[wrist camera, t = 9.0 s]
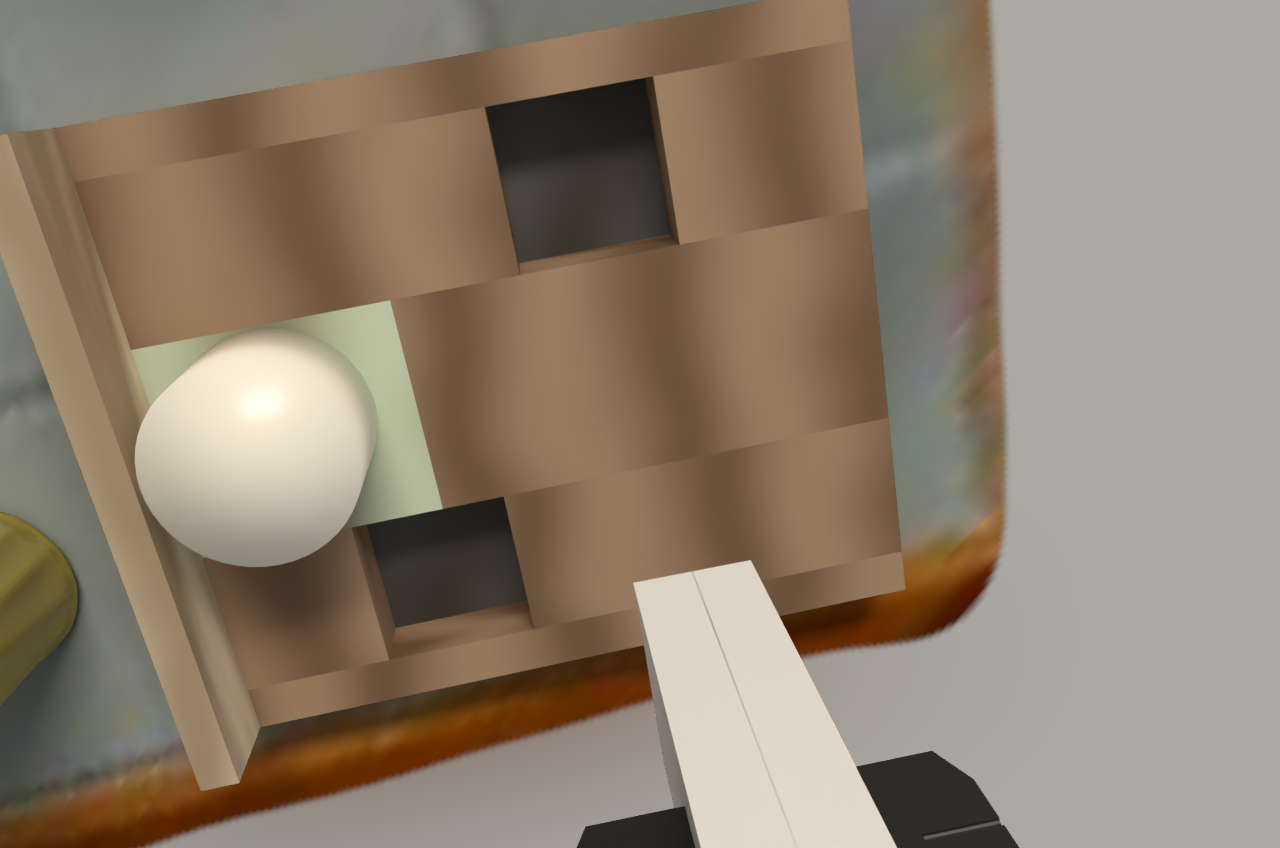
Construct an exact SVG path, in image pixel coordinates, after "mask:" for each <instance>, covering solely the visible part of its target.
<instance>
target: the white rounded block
mask: <svg viewBox="0 0 1280 848" xmlns="http://www.w3.org/2000/svg"><path fill="white" fill-rule="evenodd" d="M377 434H378V416H377V411H376V405H375V402H374V399H373V396H372V393H371V391H370V389H369V387H368V385H367V383H366V381H365V379H364V378H363V376H362V375H361V373H360V372H359V370H358V369H357V368H356V367H355V366H354V365H353V363H352V362H351V361H350V360H349V359H348V358H346V357H345V356H344V355H343V354H342V353H341V352H339V351H338V350H337V349H335V348H334V347H332V346H331V345H329V344H327V343H326V342H324V341H322V340H320V339H318V338H316V337H313V336H311V335H308V334H305V333H301V332H297V331H294V330H287V329H279V328H264V329H256V330H250V331H246V332H242V333H238V334H236V335H233V336H231V337H228V338H226V339H224V340H223V341H221V342H219V343H217V344H216V345H214V346H213V347H212V348H210V349H209V350H208V351H206V352H205V353H204V354H203V355H202V356H201V357H200V358H199V359H198V360H197V361H196V362H195V363H194V364H193V365H191V366H190V367H189V368H188V369H187V370H186V371H185V372H184V373H183V374H182V375H181V376H180V377H179V378H178V379H177V380H176V381H174V382H173V383H172V384H171V385H170V386H169V387H168V388H167V389H166V390H165V391H164V392H163V393H162V394H161V395H160V396H159V397H158V398H157V399H156V400H155V402H154V403H153V405H152V406H151V407H150V409H149V410H148V412H147V414H146V416H145V418H144V419H143V421H142V424H141V427H140V430H139V432H138V435H137V441H136V447H135V469H136V476H137V480H138V484H139V488H140V490H141V493H142V495H143V498H144V500H145V502H146V504H147V506H148V507H149V509H150V511H151V512H152V514H153V515H154V517H155V518H156V519H157V520H158V522H159V523H160V524H161V526H162V527H164V528H165V529H166V530H167V531H168V532H169V533H170V534H171V535H172V536H173V537H174V538H175V539H177V540H178V541H179V542H180V543H182V544H183V545H185V546H186V547H188V548H190V549H191V550H193V551H195V552H196V553H199V554H201V555H203V556H205V557H207V558H210V559H213V560H216V561H219V562H222V563H226V564H231V565H236V566H245V567H268V566H275V565H281V564H285V563H289V562H293V561H295V560H298V559H300V558H303V557H305V556H307V555H309V554H311V553H313V552H315V551H317V550H318V549H320V548H321V547H322V546H324V545H325V544H327V543H328V542H329V541H330V540H331V539H332V538H333V537H334V536H335V535H336V534H338V532H339V531H340V530H341V529H342V527H343V526H344V525H345V524H346V522H347V521H348V519H349V517H350V516H351V514H352V512H353V510H354V508H355V505H356V503H357V500H358V497H359V494H360V492H361V489H362V486H363V483H364V480H365V477H366V474H367V471H368V468H369V465H370V462H371V459H372V456H373V453H374V450H375V446H376V442H377Z"/></svg>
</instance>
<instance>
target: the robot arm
mask: <svg viewBox="0 0 1280 848" xmlns="http://www.w3.org/2000/svg"><path fill="white" fill-rule="evenodd" d="M633 585H634V590H635V596H636V602H637V608H638V614H639V620H640V626H641V631H642V637H643V643H644V649H645V655H646V661H647V666H648V672H649V678H650V684H651V690H652V696H653V702H654V707H655V713H656V719H657V725H658V731H659V737H660V743H661V747H662V754H663V760H664V765H665V770H666V774H667V778H668V783H669V787H670V791H671V795H672V800H673V803H674V808H673V809H669V810H664V811H659V812H654V813H649V814H645V815H639V816H635V817H630V818H625V819H621V820H616V821H611V822H606V823H601V824H597V825H592V826H587V827H585V830H584V832H583V834H582V837H581V839H580V842H579V844H578V846H577V848H1019V847H1018V845H1017V844H1016V842H1015V841H1014V839H1013V838H1012V836H1011V835H1010V833H1009V832H1008V830H1007V829H1006V827H1005V826H1004V825H1003V826H1002V825H1001V823H1000V821H999V817H998V815H997V814H996V812H995V811H994V809H993V808H992V806H991V805H990V803H989V802H988V800H987V799H986V797H985V796H984V794H983V793H982V791H981V790H980V788H979V787H978V785H977V784H976V782H975V781H974V779H972V778H971V777H969V776H968V775H966V774H965V773H964V772H962V771H961V770H959V769H958V768H956V767H955V766H953V765H952V764H950V763H949V762H947V761H946V760H945V759H943V758H942V757H940V756H939V755H937V754H936V753H934V752H933V751H929V752H924V753H920V754H915V755H910V756H905V757H900V758H896V759H891V760H886V761H881V762H877V763H872V764H867V765H862V766H857V767H856V766H855V764H854V762H853V760H852V758H851V756H850V754H849V752H848V750H847V748H846V746H845V745H844V742H843V741H842V739H841V737H840V735H839V733H838V731H837V729H836V727H835V725H834V723H833V721H832V719H831V717H830V715H829V713H828V711H827V709H826V707H825V705H824V703H823V701H822V699H821V697H820V696H819V693H818V691H817V690H816V688H815V685H814V684H813V682H812V680H811V678H810V676H809V674H808V672H807V670H806V668H805V666H804V664H803V662H802V660H801V658H800V656H799V654H798V652H797V650H796V648H795V646H794V644H793V642H792V640H791V638H790V636H789V634H788V632H787V630H786V629H785V627H784V625H783V623H782V621H781V619H780V617H779V615H778V613H777V611H776V609H775V607H774V605H773V603H772V601H771V599H770V597H769V595H768V593H767V591H766V589H765V587H764V585H763V583H762V581H761V579H760V577H759V575H758V573H757V572H756V570H755V568H754V566H753V564H752V562H751V560H748V561H743V562H738V563H733V564H728V565H723V566H717V567H712V568H707V569H702V570H697V571H692V572H687V573H681V574H676V575H671V576H666V577H661V578H656V579H650V580H645V581H640V582H635V583H633Z"/></svg>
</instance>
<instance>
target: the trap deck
mask: <svg viewBox="0 0 1280 848" xmlns="http://www.w3.org/2000/svg"><path fill="white" fill-rule="evenodd" d="M0 254H1V257H2V260H3V262H4V265H5V268H6V271H7V273H8V276H9V279H10V281H11V284H12V287H13V289H14V292H15V295H16V297H17V300H18V303H19V305H20V308H21V311H22V313H23V316H24V319H25V321H26V324H27V327H28V329H29V332H30V335H31V337H32V340H33V343H34V345H35V348H36V351H37V354H38V356H39V359H40V362H41V364H42V367H43V370H44V372H45V375H46V378H47V380H48V383H49V386H50V388H51V391H52V394H53V396H54V399H55V402H56V404H57V407H58V410H59V412H60V415H61V418H62V420H63V423H64V426H65V428H66V431H67V434H68V437H69V439H70V442H71V445H72V447H73V450H74V453H75V455H76V458H77V461H78V463H79V466H80V469H81V471H82V474H83V477H84V479H85V482H86V485H87V487H88V490H89V493H90V495H91V498H92V501H93V503H94V506H95V509H96V512H97V514H98V517H99V520H100V522H101V525H102V528H103V530H104V533H105V536H106V538H107V541H108V544H109V546H110V549H111V552H112V554H113V557H114V560H115V562H116V565H117V568H118V570H119V573H120V576H121V578H122V581H123V584H124V586H125V589H126V592H127V595H128V597H129V600H130V603H131V605H132V608H133V611H134V613H135V616H136V619H137V621H138V624H139V627H140V629H141V632H142V635H143V637H144V640H145V643H146V645H147V648H148V651H149V653H150V656H151V659H152V661H153V664H154V667H155V670H156V672H157V675H158V678H159V680H160V683H161V686H162V688H163V691H164V694H165V696H166V699H167V702H168V704H169V707H170V710H171V712H172V715H173V718H174V720H175V723H176V726H177V728H178V731H179V734H180V736H181V739H182V742H183V744H184V747H185V750H186V753H187V755H188V758H189V761H190V763H191V766H192V769H193V771H194V774H195V777H196V779H197V782H198V785H199V787H200V790H201V791H205V790H209V789H214V788H218V787H223V786H228V785H232V784H237V783H239V782H240V780H241V777H242V774H243V772H244V769H245V767H246V764H247V761H248V759H249V756H250V753H251V751H252V748H253V745H254V743H255V740H256V737H257V735H258V732H259V730H260V727H264V726H269V725H274V724H278V723H283V722H288V721H292V720H297V719H302V718H306V717H311V716H316V715H321V714H325V713H330V712H335V711H339V710H344V709H349V708H353V707H358V706H363V705H367V704H372V703H377V702H381V701H386V700H391V699H395V698H400V697H405V696H409V695H414V694H419V693H423V692H428V691H433V690H437V689H442V688H447V687H451V686H456V685H461V684H465V683H470V682H475V681H479V680H484V679H489V678H493V677H498V676H503V675H507V674H512V673H517V672H521V671H526V670H531V669H535V668H540V667H545V666H549V665H554V664H559V663H563V662H568V661H573V660H577V659H582V658H587V657H591V656H596V655H601V654H605V653H610V652H615V651H619V650H624V649H629V648H633V647H638V646H643V645H644V643H643V637H642V631H641V626H640V620H639V614H638V608H637V602H636V596H635V590H634V585H633V583H635V582H640V581H645V580H650V579H656V578H661V577H666V576H671V575H676V574H681V573H687V572H692V571H697V570H702V569H707V568H712V567H717V566H723V565H728V564H733V563H738V562H743V561H748V560H751V562H752V564H753V566H754V568H755V570H756V572H757V573H758V575H759V577H760V579H761V581H762V583H763V585H764V587H765V589H766V591H767V593H768V595H769V597H770V599H771V601H772V603H773V605H774V607H775V609H776V611H777V613H778V615H779V616H783V615H788V614H792V613H797V612H802V611H806V610H811V609H816V608H820V607H825V606H830V605H834V604H839V603H844V602H848V601H853V600H858V599H862V598H867V597H872V596H876V595H881V594H886V593H890V592H895V591H900V590H904V589H905V580H904V570H903V560H902V550H901V540H900V529H899V519H898V509H897V499H896V488H895V478H894V468H893V458H892V448H891V437H890V427H889V417H888V407H887V397H886V386H885V376H884V366H883V356H882V346H881V335H880V325H879V315H878V305H877V294H876V284H875V274H874V264H873V254H872V243H871V233H870V223H869V213H868V203H867V192H866V182H865V172H864V162H863V152H862V141H861V131H860V121H859V111H858V101H857V90H856V80H855V70H854V60H853V49H852V39H851V29H850V19H849V9H848V0H765V1H760V2H754V3H749V4H743V5H738V6H732V7H726V8H721V9H715V10H710V11H704V12H699V13H693V14H687V15H682V16H676V17H671V18H665V19H660V20H654V21H649V22H643V23H637V24H632V25H626V26H621V27H615V28H610V29H604V30H598V31H593V32H587V33H582V34H576V35H571V36H565V37H559V38H554V39H548V40H543V41H537V42H532V43H526V44H520V45H515V46H509V47H504V48H498V49H493V50H487V51H481V52H476V53H470V54H465V55H459V56H454V57H448V58H443V59H437V60H431V61H426V62H420V63H415V64H409V65H404V66H398V67H392V68H387V69H381V70H376V71H370V72H365V73H359V74H353V75H348V76H342V77H337V78H331V79H326V80H320V81H314V82H309V83H303V84H298V85H292V86H287V87H281V88H275V89H270V90H264V91H259V92H253V93H248V94H242V95H237V96H231V97H225V98H220V99H214V100H209V101H203V102H198V103H192V104H186V105H181V106H175V107H170V108H164V109H159V110H153V111H147V112H142V113H136V114H131V115H125V116H120V117H114V118H108V119H103V120H97V121H92V122H86V123H81V124H75V125H69V126H64V127H58V128H52V129H43V130H35V131H26V132H18V133H10V134H3V135H0ZM264 328H279V329H287V330H294V331H297V332H301V333H305V334H308V335H311V336H313V337H316V338H318V339H320V340H322V341H324V342H326V343H327V344H329V345H331V346H332V347H334V348H335V349H337V350H338V351H339V352H341V353H342V354H343V355H344V356H345V357H346V358H348V359H349V360H350V361H351V362H352V363H353V365H354V366H355V367H356V368H357V369H358V370H359V372H360V373H361V375H362V376H363V378H364V379H365V381H366V383H367V385H368V387H369V389H370V391H371V393H372V396H373V399H374V402H375V405H376V411H377V416H378V434H377V442H376V446H375V450H374V453H373V456H372V459H371V462H370V465H369V468H368V471H367V474H366V477H365V480H364V483H363V486H362V489H361V492H360V494H359V497H358V500H357V503H356V505H355V508H354V510H353V512H352V514H351V516H350V517H349V519H348V521H347V522H346V524H345V525H344V526H343V527H342V529H341V530H340V531H339V532H338V534H336V535H335V536H334V537H333V538H332V539H331V540H330V541H329V542H328V543H327V544H325V545H324V546H322V547H321V548H320V549H318V550H317V551H315V552H313V553H311V554H309V555H307V556H305V557H303V558H300V559H298V560H295V561H293V562H289V563H285V564H281V565H275V566H268V567H245V566H236V565H231V564H226V563H222V562H219V561H216V560H213V559H210V558H207V557H205V556H203V555H201V554H199V553H196V552H195V551H193V550H191V549H190V548H188V547H186V546H185V545H183V544H182V543H180V542H179V541H178V540H177V539H175V538H174V537H173V536H172V535H171V534H170V533H169V532H168V531H167V530H166V529H165V528H164V527H162V526H161V524H160V523H159V522H158V520H157V519H156V518H155V517H154V515H153V514H152V512H151V511H150V509H149V507H148V506H147V504H146V502H145V500H144V498H143V495H142V493H141V490H140V488H139V484H138V480H137V476H136V469H135V447H136V441H137V435H138V432H139V430H140V427H141V424H142V421H143V419H144V418H145V416H146V414H147V412H148V410H149V409H150V407H151V406H152V405H153V403H154V402H155V400H156V399H157V398H158V397H159V396H160V395H161V394H162V393H163V392H164V391H165V390H166V389H167V388H168V387H169V386H170V385H171V384H172V383H173V382H174V381H176V380H177V379H178V378H179V377H180V376H181V375H182V374H183V373H184V372H185V371H186V370H187V369H188V368H189V367H190V366H191V365H193V364H194V363H195V362H196V361H197V360H198V359H199V358H200V357H201V356H202V355H203V354H204V353H205V352H206V351H208V350H209V349H210V348H212V347H213V346H214V345H216V344H217V343H219V342H221V341H223V340H224V339H226V338H228V337H231V336H233V335H236V334H238V333H242V332H246V331H250V330H256V329H264Z"/></svg>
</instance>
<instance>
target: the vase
mask: <svg viewBox="0 0 1280 848" xmlns="http://www.w3.org/2000/svg"><path fill="white" fill-rule="evenodd" d="M77 605H78V592H77V584H76V581H75V577H74V574H73V572H72V569H71V567H70V565H69V563H68V561H67V560H66V558H65V556H64V555H63V553H62V552H61V551H60V550H59V549H58V547H57V546H56V545H55V544H54V543H53V542H52V541H51V540H50V539H49V538H47V537H46V536H45V535H44V534H43V533H41V532H40V531H39V530H37V529H36V528H34V527H33V526H32V525H30V524H29V523H27V522H25V521H23V520H21V519H19V518H17V517H14V516H12V515H9V514H5V513H2V512H0V706H1V705H2V704H3V703H4V702H5V701H6V700H7V699H8V697H9V696H10V695H11V694H12V693H13V692H14V691H15V689H16V688H17V687H18V686H19V685H20V684H21V683H22V681H23V680H24V679H25V678H26V677H27V676H28V675H29V673H30V672H31V671H32V670H33V669H34V668H35V666H36V665H37V664H38V663H40V662H41V661H42V660H43V659H45V658H46V657H47V656H48V655H50V654H51V653H52V652H53V651H54V650H55V649H56V648H57V647H58V645H59V644H60V643H61V642H62V641H63V639H64V638H65V636H66V635H67V634H68V632H69V630H70V629H71V627H72V625H73V623H74V620H75V617H76V612H77Z"/></svg>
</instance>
